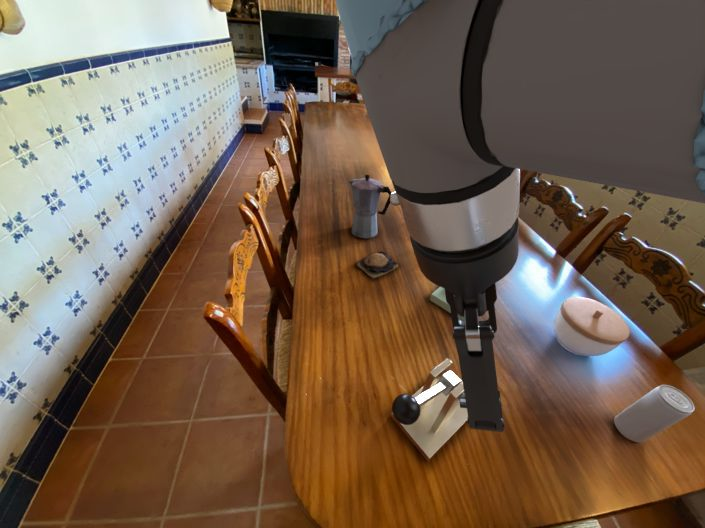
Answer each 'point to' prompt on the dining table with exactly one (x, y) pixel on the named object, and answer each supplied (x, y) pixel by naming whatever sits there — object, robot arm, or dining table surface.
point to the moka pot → (367, 205)
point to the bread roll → (377, 264)
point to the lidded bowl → (589, 327)
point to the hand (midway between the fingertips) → (482, 356)
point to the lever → (422, 399)
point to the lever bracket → (436, 416)
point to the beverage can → (653, 413)
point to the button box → (442, 300)
